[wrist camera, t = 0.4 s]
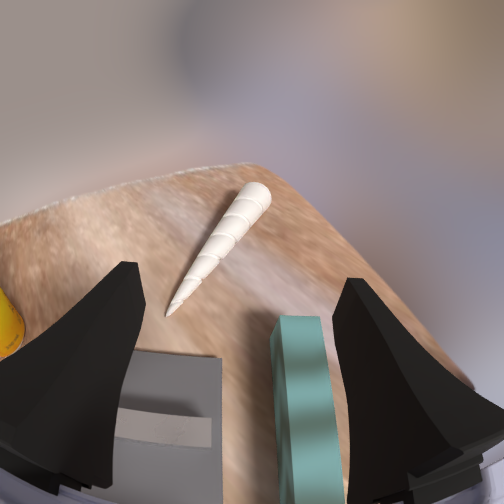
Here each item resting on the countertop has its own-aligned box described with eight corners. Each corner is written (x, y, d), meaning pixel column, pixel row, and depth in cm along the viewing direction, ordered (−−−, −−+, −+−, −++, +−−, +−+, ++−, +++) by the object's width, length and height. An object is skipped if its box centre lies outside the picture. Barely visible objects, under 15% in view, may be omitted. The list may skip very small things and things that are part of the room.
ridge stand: (222, 519, 17) (226, 525, 15) (48, 487, 15) (27, 485, 12) (221, 362, 28) (224, 344, 26) (71, 343, 26) (58, 324, 23)
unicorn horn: (140, 302, 32) (134, 275, 29) (243, 200, 48) (247, 175, 44) (173, 324, 31) (170, 298, 27) (269, 212, 47) (276, 186, 43)
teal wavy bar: (324, 536, 17) (347, 543, 13) (281, 543, 16) (297, 553, 13) (304, 340, 32) (319, 316, 28) (269, 339, 31) (279, 315, 28)
